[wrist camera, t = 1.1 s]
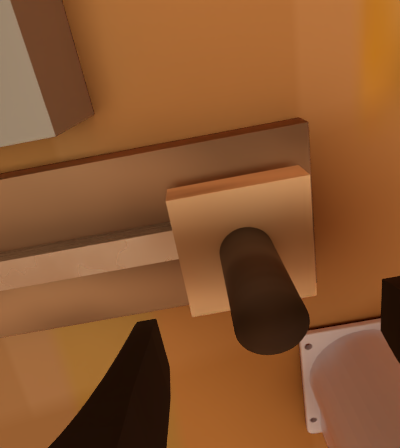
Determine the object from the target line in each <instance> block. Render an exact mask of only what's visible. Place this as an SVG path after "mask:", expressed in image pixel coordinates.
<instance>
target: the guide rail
mask: <svg viewBox="0 0 400 448" xmlns="http://www.w3.org/2000/svg"><path fill="white" fill-rule="evenodd" d="M176 259H179V257H178V253H177V249H176V244H175V240H174V236H173V231H172V227H171V223H170V222H164V223H159V224H153V225H148V226H142V227H137V228H131V229H126V230H120V231H115V232H109V233H104V234H98V235H93V236H87V237H82V238H76V239H71V240H65V241H60V242H54V243H49V244H43V245H38V246H32V247H27V248H21V249H16V250H10V251H5V252H0V291H3V290H8V289H14V288H20V287H25V286H31V285H36V284H42V283H48V282H53V281H59V280H64V279H70V278H76V277H81V276H87V275H92V274H98V273H104V272H109V271H115V270H120V269H126V268H132V267H137V266H143V265H148V264H154V263H159V262H165V261H171V260H176Z"/></svg>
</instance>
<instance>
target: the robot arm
mask: <svg viewBox="0 0 400 448" xmlns="http://www.w3.org/2000/svg"><path fill="white" fill-rule="evenodd" d="M306 344H309V345H307V346H306ZM299 348H300V359H301V371H302V383H303V395H304V407H305V418H306V427H307V430H308V432H309V433H320V432H322V433H323V435H324V438H325V441H326V443H327V446H328V448H400V276H397V277H392V278H386V279H382V301H381V318H379V319H373V320H368V321H362V322H356V323H350V324H344V325H338V326H333V327H327V328H321V329H315V330H309V331H307V333H306V335H305V337H304V338H303V339H302V340H301V342H299ZM169 410H170V366H169V363H168V359H167V356H166V352H165V349H164V345H163V342H162V338H161V334H160V331H159V327H158V324H157V320H156V319H152V320H146V321H140V322H137V323H136V325H135V326H134V328H133V330H132V331H131V333H130V335H129V337H128V338H127V340H126V342H125V344H124V345H123V347H122V349H121V350H120V352H119V354H118V355H117V357H116V359H115V360H114V362H113V363H112V365H111V367H110V368H109V370H108V371H107V373H106V375H105V376H104V378H103V379H102V381H101V382H100V383H99V385H98V386H97V388H96V389H95V391H94V392H93V393H92V395H91V396H90V398H89V399H88V401H87V402H86V403H85V405H84V406H83V407H82V408H81V410H80V411H79V412H78V414H77V415H76V416H75V417H74V419H73V420H72V421H71V422H70V424H69V425H68V426H67V427H66V428H65V430H64V431H63V432H62V433H61V434H60V435H59V437H58V438H57V439H56V440H55V441H54V442H53V443H52V444H51V445H50V446H49V447H48V448H166V446H167V434H168V423H169Z"/></svg>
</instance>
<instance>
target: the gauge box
mask: <svg viewBox="0 0 400 448" xmlns="http://www.w3.org/2000/svg"><path fill="white" fill-rule="evenodd" d="M92 115H94V111H93V108H92V104H91V101H90V97H89V94H88V90H87V87H86V83H85V80H84V76H83V73H82V69H81V66H80V62H79V59H78V55H77V52H76V48H75V45H74V41H73V38H72V34H71V31H70V27H69V24H68V20H67V17H66V13H65V10H64V6H63V3H62V0H0V147H3V146H8V145H13V144H18V143H24V142H29V141H34V140H39V139H45V138H50V137H55V136H57V135H59V134H61V133H63V132H64V131H66V130H68V129H70V128H71V127H73V126H75V125H77V124H78V123H80V122H82V121H84V120H85V119H87V118H89V117H91V116H92Z"/></svg>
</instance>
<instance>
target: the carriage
mask: <svg viewBox="0 0 400 448" xmlns="http://www.w3.org/2000/svg"><path fill="white" fill-rule="evenodd" d="M166 205H167V209H168V214H169V218H170V223H171V227H172V231H173V236H174V240H175V244H176V249H177V253H178V257H179V262H180V266H181V270H182V275H183V279H184V283H185V288H186V292H187V296H188V301H189V305H190V310H191V314H192V317H196V316H202V315H208V314H213V313H219V312H225V311H231V315H232V321H233V326H234V331H235V335H236V337H237V340H238V341H239V343H240V344H241V345H242V346H243V347H244V348H246V349H247V350H249V351H251V352H253V353H257V354H261V355H274V354H279V353H282V352H285V351H288V350H290V349H291V348H293V347H295V346H296V345H297V344H298V343H299V342H301V340H302V339H303V338H304V337H305V335H306V333H307V331H308V328H309V324H310V319H309V314H308V311H307V309H306V307H305V305H304V303H303V301H302V299H301V298H305V297H311V296H317V291H316V273H315V255H314V237H313V219H312V201H311V183H310V174H309V173H307V172H306V171H305V170H304V169H303V168H302V167H300V166H299V165H295V166H290V167H284V168H279V169H274V170H268V171H263V172H257V173H252V174H246V175H241V176H236V177H230V178H225V179H219V180H214V181H209V182H203V183H198V184H192V185H187V186H181V187H176V188H171V189H167V194H166Z"/></svg>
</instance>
